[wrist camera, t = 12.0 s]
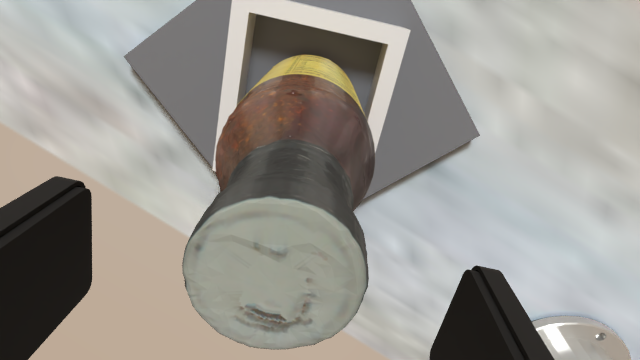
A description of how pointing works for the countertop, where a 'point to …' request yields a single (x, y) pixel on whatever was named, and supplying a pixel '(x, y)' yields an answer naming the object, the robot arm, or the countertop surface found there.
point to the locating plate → (320, 40)
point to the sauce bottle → (286, 211)
